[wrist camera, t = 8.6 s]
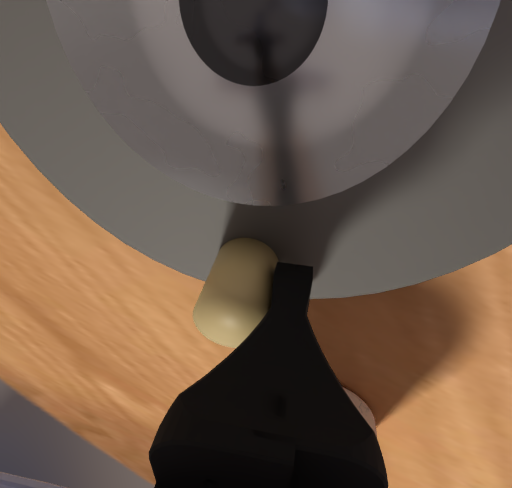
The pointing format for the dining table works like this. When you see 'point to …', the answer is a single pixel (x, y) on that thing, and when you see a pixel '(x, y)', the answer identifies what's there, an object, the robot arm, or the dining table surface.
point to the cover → (271, 85)
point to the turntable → (272, 217)
